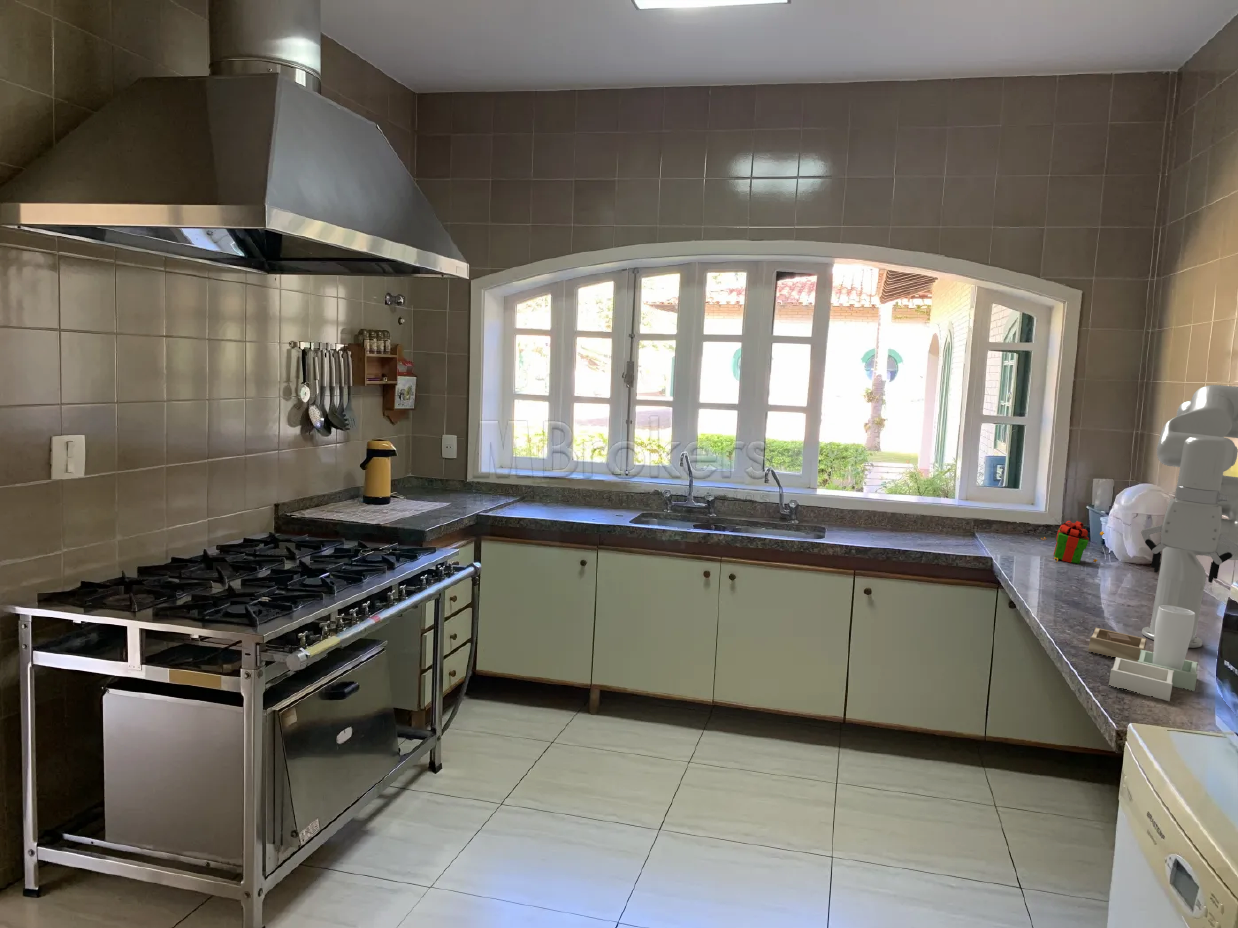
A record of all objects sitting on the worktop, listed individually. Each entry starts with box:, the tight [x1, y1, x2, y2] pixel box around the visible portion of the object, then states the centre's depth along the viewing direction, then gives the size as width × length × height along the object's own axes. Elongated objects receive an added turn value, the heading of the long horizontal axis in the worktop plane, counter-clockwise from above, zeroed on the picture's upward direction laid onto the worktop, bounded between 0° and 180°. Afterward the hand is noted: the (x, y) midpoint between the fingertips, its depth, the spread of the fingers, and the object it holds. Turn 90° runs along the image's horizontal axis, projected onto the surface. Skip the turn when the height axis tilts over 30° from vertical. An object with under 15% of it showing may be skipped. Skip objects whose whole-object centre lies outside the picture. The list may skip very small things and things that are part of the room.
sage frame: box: [1138, 649, 1198, 692], centre depth 183 cm, size 10×11×4 cm
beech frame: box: [1087, 627, 1148, 662], centre depth 198 cm, size 10×11×4 cm
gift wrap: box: [1040, 520, 1105, 565], centre depth 298 cm, size 20×19×14 cm
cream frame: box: [1108, 657, 1174, 702], centre depth 176 cm, size 10×11×4 cm
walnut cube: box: [1106, 633, 1131, 645], centre depth 198 cm, size 4×4×4 cm
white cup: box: [1152, 605, 1195, 670], centre depth 182 cm, size 7×7×15 cm
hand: (1182, 576), depth 180 cm, fingers open, 9 cm apart
